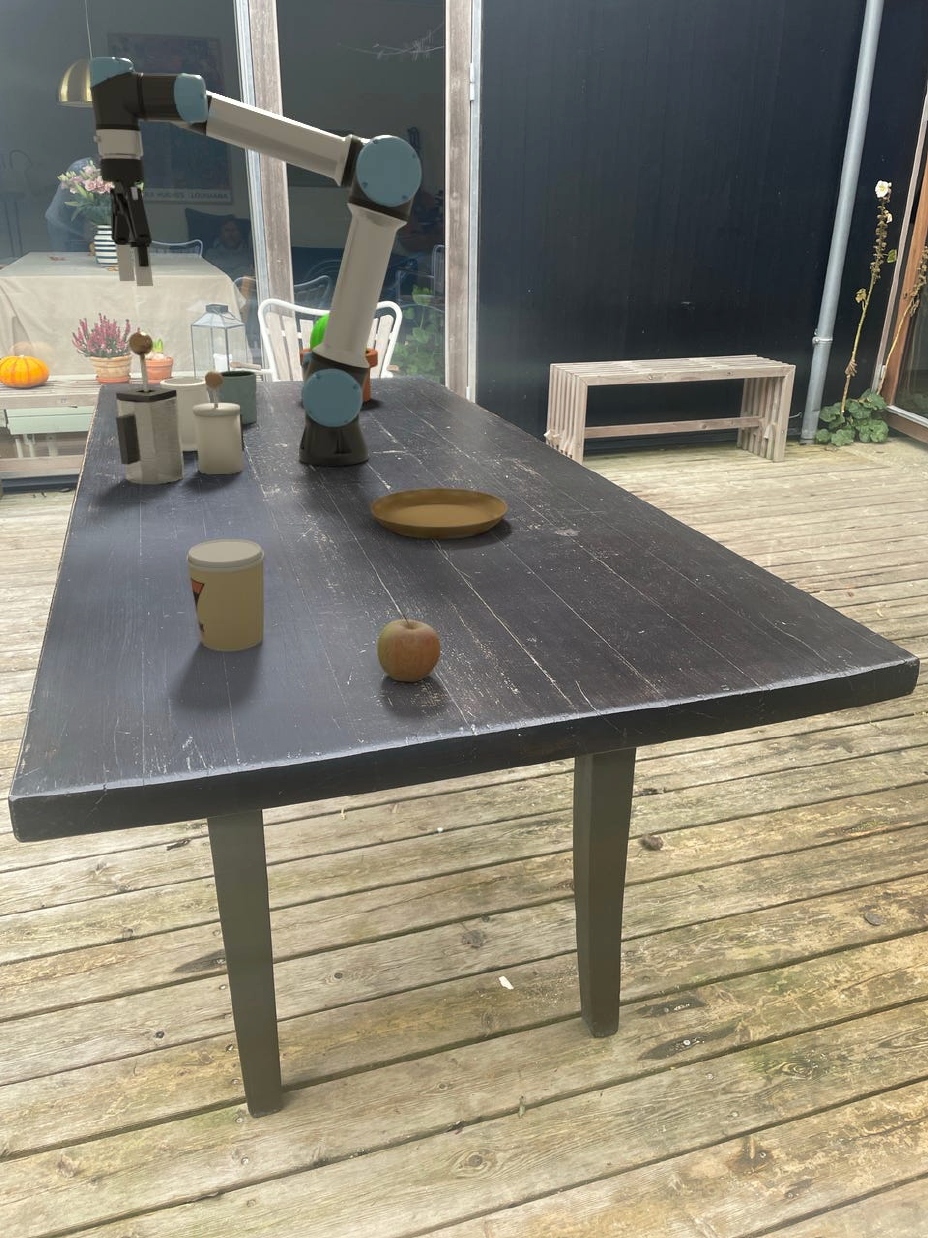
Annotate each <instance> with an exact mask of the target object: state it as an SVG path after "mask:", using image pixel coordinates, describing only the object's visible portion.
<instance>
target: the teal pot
mask: <svg viewBox="0 0 928 1238" xmlns="http://www.w3.org/2000/svg"><path fill="white" fill-rule="evenodd" d="M218 372H219V371H218ZM219 373H220V374H221V375H222V377H223V384H222V385H221V387H219V388H217V393H218V394H219V397H218V399H219V403H232V404H237V405H239V406H240V413H241V414H242V425H247V424H252V423H256V422H257V420H258V408H257V404H258V403H257V372H255V371H252V370H225V371H220V372H219Z"/></svg>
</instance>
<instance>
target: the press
mask: <svg viewBox="0 0 928 1238" xmlns="http://www.w3.org/2000/svg"><path fill="white" fill-rule="evenodd" d="M148 387H149V393H144V390H143V386H140V387H135V388H131V389H125V390H121V391H118V392H115V396H116V407H117V413H118V416H116V417H115V421H116V429H117V437H118V445H119V453H120V461H121V464H122V465H124V469H125V477H126V481H129V482H130V483H132V484H139V485H160V484H161V483H163V484H168V483H167V482H170V483H175V482H177V481H180V480H183V479H184V478H185V476H186V474H185V473H186V472H185V463H184V462H185V461H184V455H183V454H184V451H182V441H181V431H180V421H179V411H178V401H177V393H176V390H173V389H163V388H162V387H154V386H153V387H151V386H148ZM184 475H185V476H184ZM182 478H183V479H182ZM179 479H180V480H179ZM176 480H177V481H176ZM174 481H175V482H174ZM161 485H162V484H161Z"/></svg>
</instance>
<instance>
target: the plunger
mask: <svg viewBox="0 0 928 1238" xmlns="http://www.w3.org/2000/svg"><path fill="white" fill-rule="evenodd" d="M128 346H129V349H130V351H131V352H132V353H133V354H135V355H137V356H139V361H140V371H141V380H142V381H141V382H142V387H143V390H144V393H149V387H150V386H149V380H148V379H149V378H148V371H147V361H146V356H147V355H149V354H150V353H151V352H152V350H153V348H154V342H153V339H152V337H151V336H150V335H149V334H148V333H146V332H143V331H137V332H134V333H133V334H132V335H130V337H129V339H128Z"/></svg>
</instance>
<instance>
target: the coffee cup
mask: <svg viewBox="0 0 928 1238" xmlns="http://www.w3.org/2000/svg"><path fill="white" fill-rule="evenodd" d="M185 561H186V565H187V566H188V570H189V571H188V572H189V578H190V582H191V588H192V589H191V590H192V596H193V600H194V606H195V607H194V608H195V613H196V618H197V623H198V629H199V635H200V640H201V642H202V645H203V646H204V647H205V648H207V649H209V650H211V651H216V652H225V653H226V652H238V651H243V650H247V649H250V648H253V647H255V646H258V645H259V644H260V643H261V642H262V640H263V638H264V622H265V621H264V615H265V614H264V607H265V606H264V605H265V604H264V601H265V600H264V598H265V597H264V593H265V592H264V588H265V586H264V582H265V580H264V578H265V575H264V574H265V573H264V561H265V551H264V550H263V549H262V547H261V546H260V545H259V544H258V543H256V542H254V541H252V540H246V539H241V538H240V539H239V538H238V539H237V538H236V539H235V538H226V539H225V538H224V539H215V540H209V541H205V542H201V543H198V544H196V545H194V546H192V547H191V548H190V549H189V550H188V554H187V556H186V559H185Z"/></svg>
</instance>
